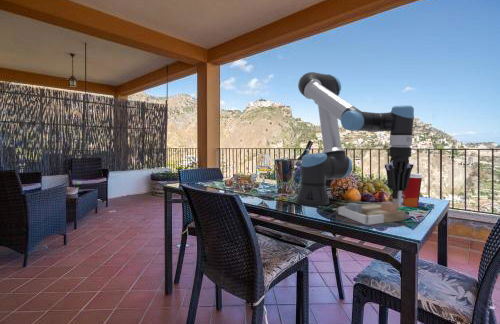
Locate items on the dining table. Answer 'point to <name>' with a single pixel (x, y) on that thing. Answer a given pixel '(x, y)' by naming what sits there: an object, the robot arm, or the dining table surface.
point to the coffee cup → (412, 190)
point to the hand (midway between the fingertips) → (396, 206)
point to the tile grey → (354, 207)
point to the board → (382, 212)
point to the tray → (360, 216)
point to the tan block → (389, 206)
